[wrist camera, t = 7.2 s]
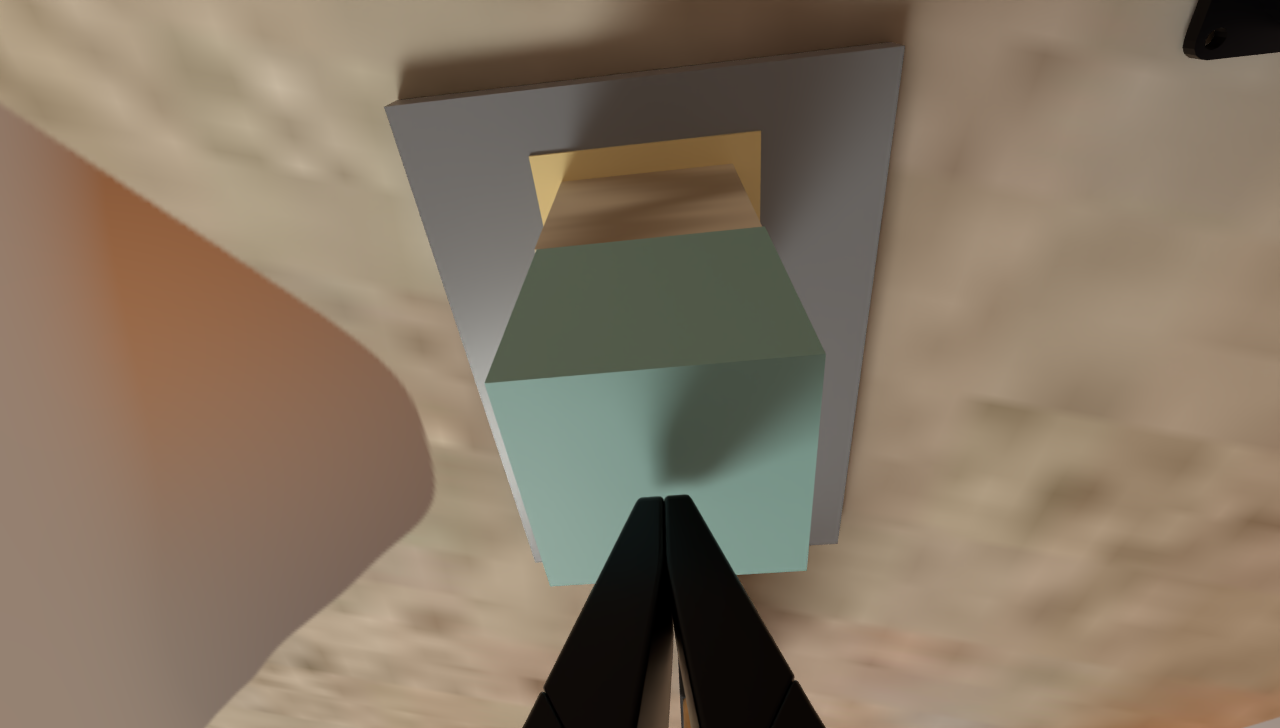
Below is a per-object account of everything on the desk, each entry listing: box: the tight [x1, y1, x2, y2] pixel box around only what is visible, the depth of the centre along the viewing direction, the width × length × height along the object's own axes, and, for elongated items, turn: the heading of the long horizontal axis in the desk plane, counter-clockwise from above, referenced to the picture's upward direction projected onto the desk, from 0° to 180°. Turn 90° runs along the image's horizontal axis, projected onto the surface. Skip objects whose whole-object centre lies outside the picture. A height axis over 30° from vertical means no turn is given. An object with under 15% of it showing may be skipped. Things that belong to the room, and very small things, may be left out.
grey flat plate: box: [384, 42, 905, 562], centre depth 21 cm, size 14×20×1 cm
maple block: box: [534, 164, 762, 252], centre depth 16 cm, size 5×5×5 cm
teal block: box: [484, 226, 826, 586], centre depth 12 cm, size 5×5×5 cm
